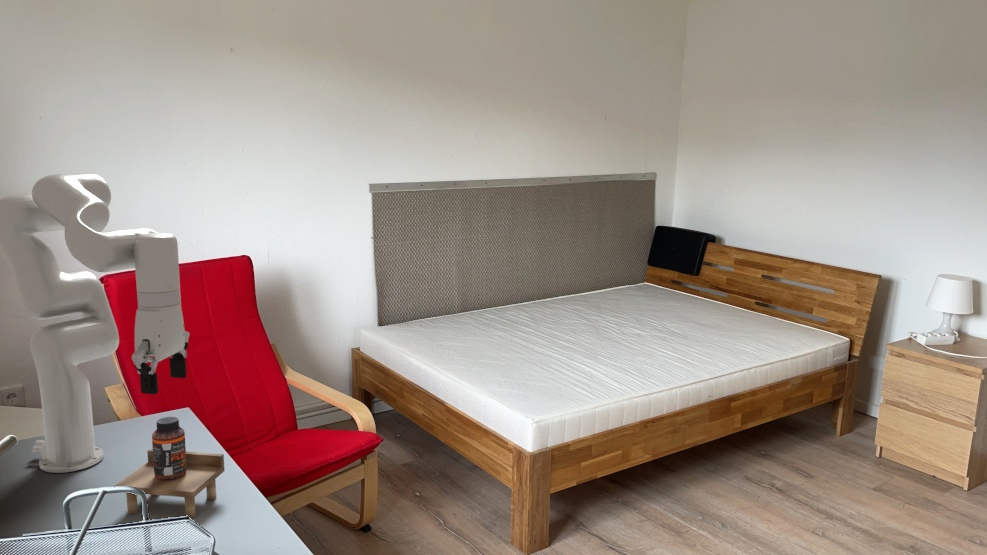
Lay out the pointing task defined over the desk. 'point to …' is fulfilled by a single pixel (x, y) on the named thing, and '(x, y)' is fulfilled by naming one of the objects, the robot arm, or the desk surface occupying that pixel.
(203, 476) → the peg shelf
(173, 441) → the supplement bottle
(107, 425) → the desk surface
